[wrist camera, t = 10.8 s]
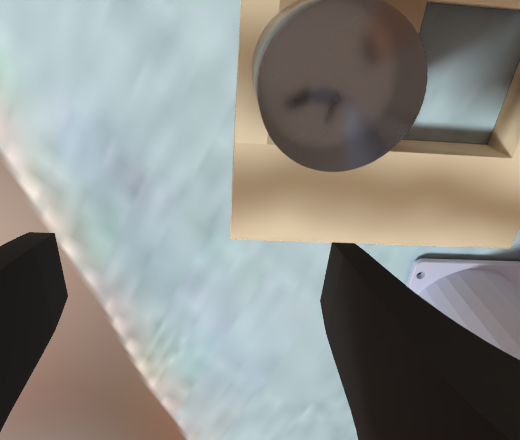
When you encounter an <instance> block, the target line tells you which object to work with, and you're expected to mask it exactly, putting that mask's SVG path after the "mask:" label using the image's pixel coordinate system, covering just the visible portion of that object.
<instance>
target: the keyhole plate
mask: <svg viewBox="0 0 520 440" xmlns="http://www.w3.org/2000/svg"><path fill="white" fill-rule="evenodd" d="M298 1H301V0H241V9H240V30H239V51H238V72H237V93H236V114H235V135H234V156H233V177H232V199H231V220H230V239H235V240H266V241H296V242H327V243H332V242H337V243H357V244H387V245H418V246H448V247H478V248H509V249H510V247H511V245H512V243H513V241H514V239H515V237H516V235H517V233H518V230H519V228H520V61H519V63H518V66H517V69H516V71H515V74H514V77H513V79H512V82H511V84H510V87H509V90H508V92H507V95H506V98H505V100H504V103H503V106H502V108H501V111H500V113H499V116H498V119H497V121H496V124H495V127H494V129H493V132H492V134H491V137H490V140H489V142H488V145H484V144H467V143H451V142H434V141H417V140H401V141H400V142H399V143H398V144H397V145H396V146H395V147H394V148H393V149H391V150H390V151H389V152H387V153H386V154H385V155H384V156H382V157H380V158H379V159H377V160H376V161H374V162H372V163H370V164H367V165H365V166H363V167H360V168H357V169H353V170H348V171H341V172H324V171H318V170H314V169H310V168H307V167H305V166H302V165H300V164H298V163H296V162H295V161H293V160H291V159H290V158H289V157H287V156H286V155H285V154H284V153H283V152H282V151H281V150H280V149H279V148H278V147H277V146H276V145H275V143H274V142H273V141H272V139H271V138H270V136H269V134H268V132H267V130H266V128H265V126H264V123H263V120H262V117H261V113H260V109H259V106H258V102H257V98H256V94H255V90H254V86H253V81H252V60H253V54H254V50H255V47H256V44H257V42H258V39H259V37H260V35H261V33H262V32H263V30H264V28H265V27H266V26H267V24H268V23H269V22H270V21H271V20H272V19H273V18H274V17H275V16H276V15H277V14H278V13H279V12H280V11H282V10H283V9H284V8H286V7H288V6H289V5H291V4H293V3H295V2H298ZM381 1H384V2H386V3H388V4H390V5H391V6H393V7H395V8H396V9H398V10H399V11H400V12H401V13H402V14H403V15H404V16H406V18H407V19H408V20H409V21H410V22H411V24H412V25H413V26H414V28H415V30H416V31H417V33H418V35H419V32H420V28H421V24H422V20H423V16H424V12H425V8H426V4H427V2H433V3H443V4H454V5H464V6H475V7H485V8H495V9H506V10H516V11H520V0H381Z"/></svg>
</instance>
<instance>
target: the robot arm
mask: <svg viewBox="0 0 520 440" xmlns="http://www.w3.org/2000/svg"><path fill="white" fill-rule="evenodd" d="M420 272H422V273H421V274H419V275H417V274H418V273H420ZM67 297H68V294H67V289H66V284H65V280H64V275H63V270H62V266H61V262H60V256H59V252H58V247H57V242H56V237H55V233H34V232H29V233H27V234H24V235H22V236H20V237H18V238H16V239H14V240H12V241H10V242H8V243H6V244H4V245H2V246H0V431H1V429H2V427H3V425H4V423H5V422H6V420H7V418H8V416H9V414H10V412H11V410H12V408H13V406H14V404H15V403H16V401H17V399H18V397H19V395H20V394H21V392H22V390H23V388H24V386H25V385H26V383H27V381H28V379H29V377H30V376H31V374H32V372H33V370H34V368H35V367H36V365H37V363H38V361H39V359H40V358H41V356H42V354H43V352H44V350H45V348H46V346H47V345H48V343H49V341H50V339H51V337H52V335H53V333H54V331H55V329H56V327H57V324H58V322H59V319H60V317H61V314H62V311H63V308H64V305H65V303H66V300H67ZM320 302H321V308H322V314H323V319H324V325H325V330H326V334H327V338H328V341H329V344H330V347H331V350H332V354H333V357H334V360H335V363H336V366H337V369H338V372H339V375H340V378H341V381H342V385H343V388H344V391H345V394H346V397H347V400H348V403H349V406H350V409H351V413H352V416H353V420H354V423H355V427H356V431H357V436H358V440H520V261H492V260H458V259H424V258H423V259H418V260H416V261H415V262H414V264H413V266H412V269H411V272H410V275H409V278H408V281H407V284H406V285H405V284H404V283H402V282H401V281H400V280H399V279H397V278H396V277H395V276H394V275H393V274H391V273H390V272H389V271H388V270H387V269H385V268H384V267H383V266H382V265H381V264H379V263H378V262H377V261H376V260H375V259H373V258H372V257H371V256H370V255H369V254H368V253H366V252H365V251H364V250H363V249H361V248H360V247H359V246H357V245H356V244H355V243H337V242H332V245H331V250H330V255H329V260H328V265H327V270H326V275H325V280H324V285H323V290H322V295H321V300H320Z"/></svg>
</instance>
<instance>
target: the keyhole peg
mask: <svg viewBox="0 0 520 440" xmlns="http://www.w3.org/2000/svg"><path fill="white" fill-rule="evenodd" d="M252 81H253V86H254V90H255V94H256V98H257V102H258V106H259V109H260V113H261V117H262V120H263V123H264V126H265V128H266V130H267V132H268V134H269V136H270V138H271V139H272V141H273V142H274V143H275V145H276V146H277V147H278V148H279V149H280V150H281V151H282V152H283V153H284V154H285V155H286V156H287V157H289V158H290V159H291V160H293V161H295V162H296V163H298V164H300V165H302V166H305V167H307V168H310V169H314V170H318V171H324V172H341V171H348V170H353V169H357V168H360V167H363V166H365V165H367V164H370V163H372V162H374V161H376V160H377V159H379V158H380V157H382V156H384V155H385V154H386V153H387V152H389V151H390V150H391V149H393V148H394V147H395V146H396V145H397V144H398V143H399V142H400V141H401V139H402V138H403V137H404V136H405V135H406V133H407V132H408V131H409V129H410V128H411V126H412V125H413V123H414V121H415V119H416V117H417V115H418V113H419V111H420V108H421V106H422V103H423V100H424V96H425V92H426V85H427V61H426V55H425V51H424V47H423V44H422V42H421V39H420V37H419V35H418V33H417V31H416V30H415V28H414V26H413V25H412V24H411V22H410V21H409V20H408V19H407V18H406V16H404V15H403V14H402V13H401V12H400V11H399V10H398V9H396V8H395V7H393V6H391V5H390V4H388V3H386V2H384V1H381V0H301V1H298V2H295V3H293V4H291V5H289V6H288V7H286V8H284V9H283V10H282V11H280V12H279V13H278V14H277V15H276V16H275V17H274V18H273V19H272V20H271V21H270V22H269V23H268V24H267V26H266V27H265V28H264V30H263V32H262V33H261V35H260V37H259V39H258V42H257V44H256V47H255V50H254V54H253V60H252Z"/></svg>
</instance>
